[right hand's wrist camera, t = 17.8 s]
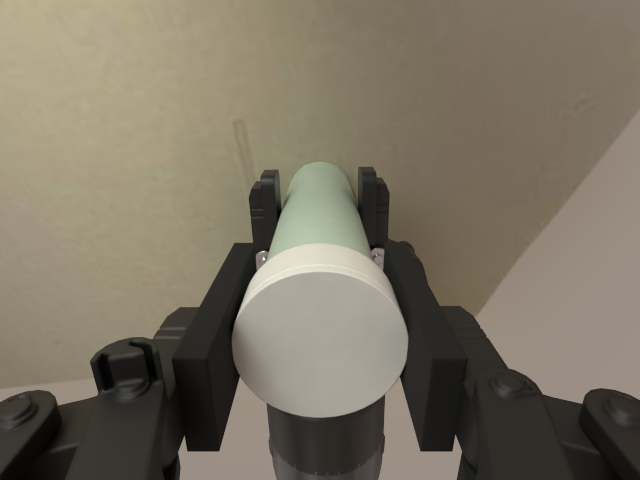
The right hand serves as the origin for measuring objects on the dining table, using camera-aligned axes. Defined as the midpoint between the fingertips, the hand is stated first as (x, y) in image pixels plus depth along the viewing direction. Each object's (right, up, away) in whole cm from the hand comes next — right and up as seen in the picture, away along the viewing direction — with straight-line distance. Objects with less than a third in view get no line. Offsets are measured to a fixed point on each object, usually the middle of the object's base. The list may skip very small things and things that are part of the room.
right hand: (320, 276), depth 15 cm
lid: (0, -2, -4) cm, 4 cm away
